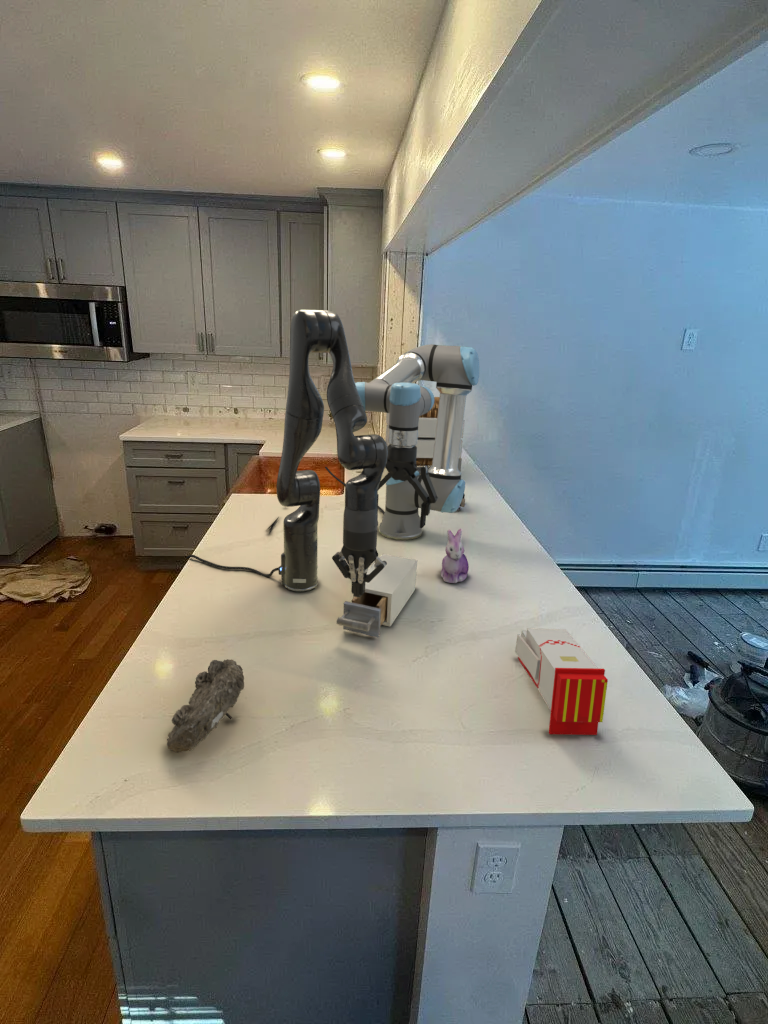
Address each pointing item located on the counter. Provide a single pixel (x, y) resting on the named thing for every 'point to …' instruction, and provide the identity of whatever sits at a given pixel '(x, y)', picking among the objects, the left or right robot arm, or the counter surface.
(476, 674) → the counter surface
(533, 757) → the counter surface
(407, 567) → the cabinet
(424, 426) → the transformer
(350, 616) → the drawer
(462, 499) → the figurine character
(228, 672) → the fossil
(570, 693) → the toy
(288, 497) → the left robot arm
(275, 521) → the feather
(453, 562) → the figurine
